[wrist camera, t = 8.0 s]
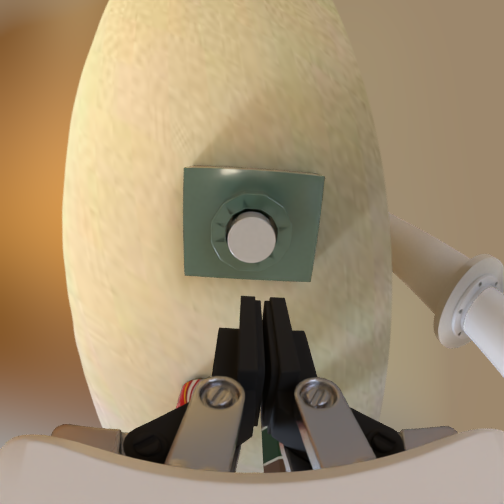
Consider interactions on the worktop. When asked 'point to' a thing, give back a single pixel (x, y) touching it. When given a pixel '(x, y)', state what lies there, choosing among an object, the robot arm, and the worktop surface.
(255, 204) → the base
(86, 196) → the worktop surface
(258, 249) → the grey round knob
